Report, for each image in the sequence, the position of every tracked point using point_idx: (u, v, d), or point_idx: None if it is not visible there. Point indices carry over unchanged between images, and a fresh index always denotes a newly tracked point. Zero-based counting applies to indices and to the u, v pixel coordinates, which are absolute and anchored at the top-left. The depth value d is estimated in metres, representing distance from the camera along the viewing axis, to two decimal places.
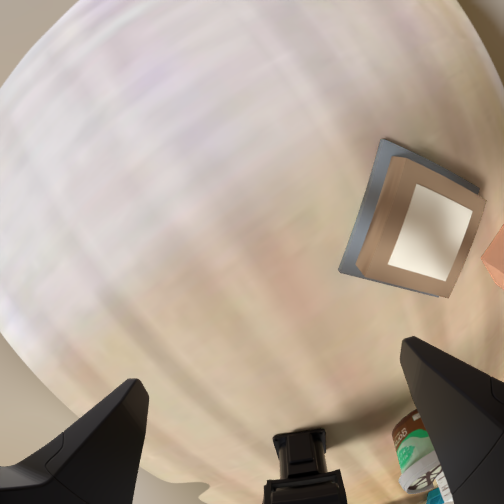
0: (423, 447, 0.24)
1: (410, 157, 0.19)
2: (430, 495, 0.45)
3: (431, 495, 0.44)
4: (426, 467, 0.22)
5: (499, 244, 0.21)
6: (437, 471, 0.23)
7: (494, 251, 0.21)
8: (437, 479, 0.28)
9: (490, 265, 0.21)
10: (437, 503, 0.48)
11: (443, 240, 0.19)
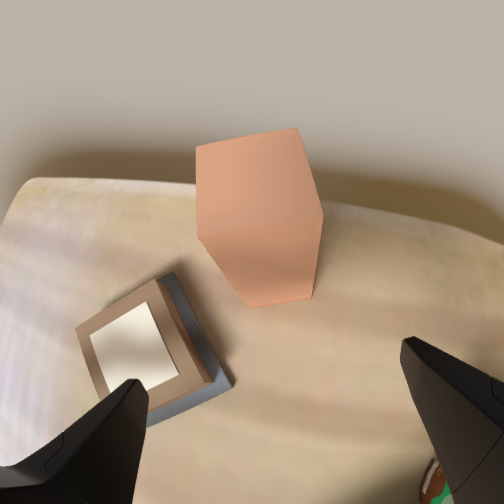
0: None
1: None
2: None
3: None
4: None
5: None
6: None
7: None
8: None
9: (249, 303, 0.22)
10: None
11: (139, 348, 0.20)
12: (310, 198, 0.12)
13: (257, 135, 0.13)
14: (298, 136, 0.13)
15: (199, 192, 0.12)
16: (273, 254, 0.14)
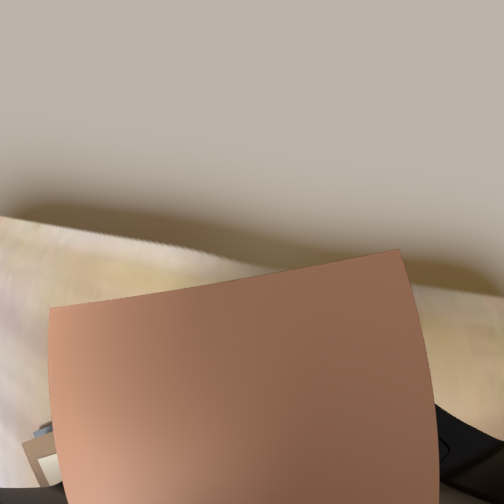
0: None
1: (52, 431, 0.14)
2: None
3: None
4: None
5: None
6: None
7: None
8: None
9: None
10: None
11: None
12: None
13: (238, 285, 0.03)
14: (407, 299, 0.03)
15: (70, 489, 0.02)
16: None
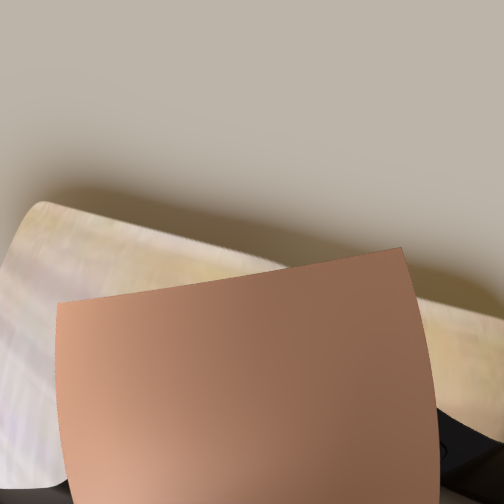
0: None
1: None
2: None
3: None
4: None
5: None
6: None
7: None
8: None
9: None
10: None
11: None
12: None
13: (245, 281, 0.03)
14: (409, 296, 0.03)
15: (74, 483, 0.03)
16: None
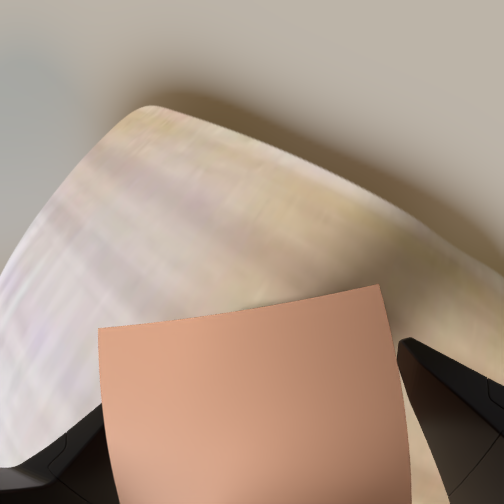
0: None
1: None
2: None
3: None
4: None
5: None
6: None
7: None
8: None
9: None
10: None
11: None
12: None
13: (260, 312, 0.05)
14: (383, 321, 0.04)
15: (119, 477, 0.04)
16: None
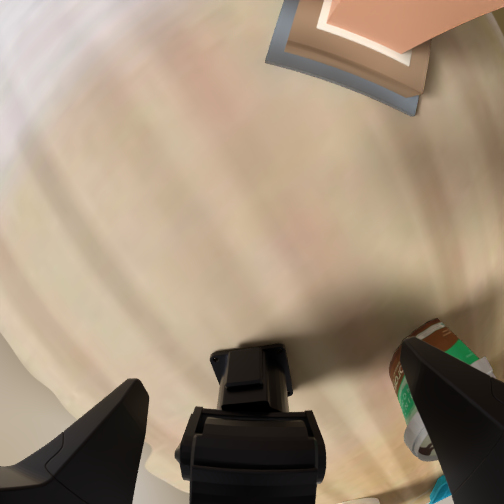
0: None
1: None
2: (441, 480, 0.38)
3: (443, 480, 0.38)
4: None
5: None
6: None
7: None
8: None
9: (337, 15, 0.11)
10: (443, 495, 0.41)
11: None
12: None
13: None
14: None
15: None
16: None
